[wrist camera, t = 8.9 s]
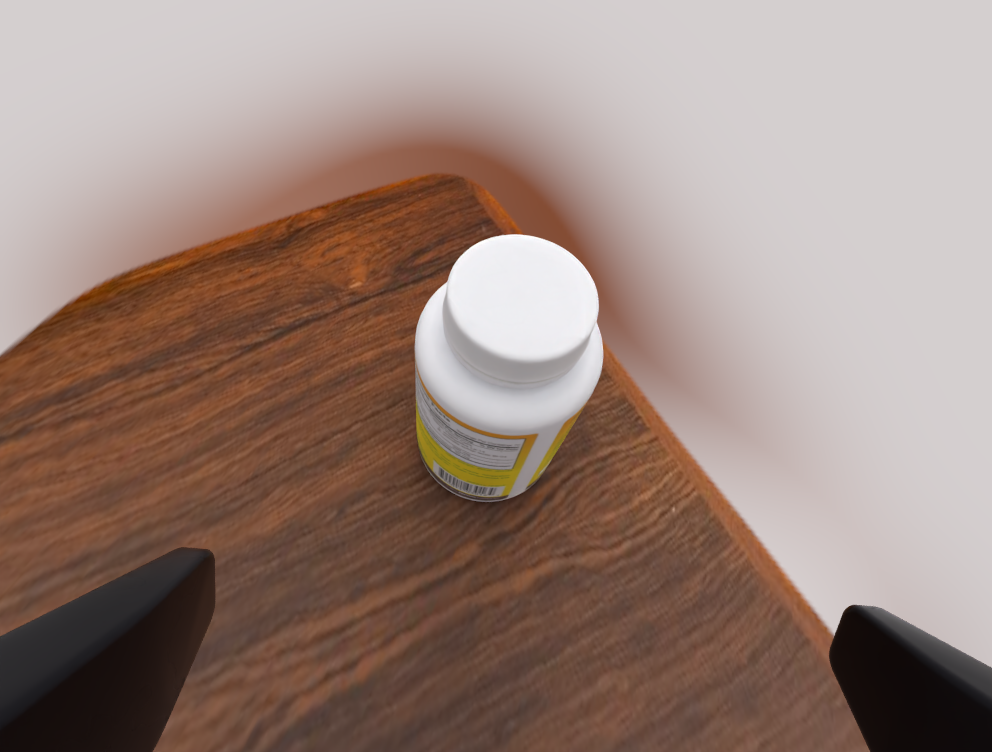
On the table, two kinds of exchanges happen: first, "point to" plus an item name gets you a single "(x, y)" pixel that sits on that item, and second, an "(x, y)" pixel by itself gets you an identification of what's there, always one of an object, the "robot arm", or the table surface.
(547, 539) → the table surface
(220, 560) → the table surface
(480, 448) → the supplement bottle
